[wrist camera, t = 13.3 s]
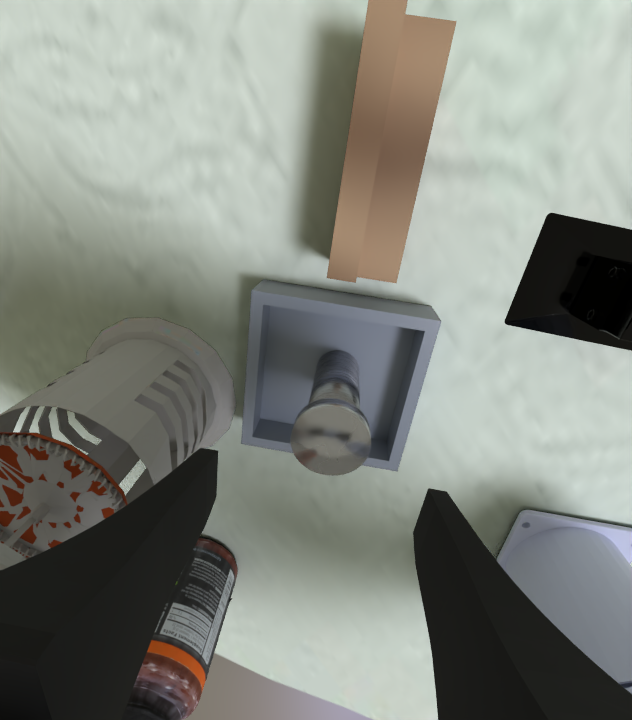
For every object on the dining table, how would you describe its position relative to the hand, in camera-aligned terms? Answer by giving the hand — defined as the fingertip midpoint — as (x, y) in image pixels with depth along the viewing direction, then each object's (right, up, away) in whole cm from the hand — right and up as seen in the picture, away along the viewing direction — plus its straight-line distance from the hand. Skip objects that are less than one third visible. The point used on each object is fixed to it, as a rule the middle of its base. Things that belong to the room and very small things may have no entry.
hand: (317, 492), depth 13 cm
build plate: (+15, +8, +6) cm, 18 cm away
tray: (+1, +4, +9) cm, 10 cm away
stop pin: (+1, +4, +8) cm, 9 cm away
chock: (+3, +13, +5) cm, 14 cm away
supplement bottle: (-9, -11, +17) cm, 22 cm away
